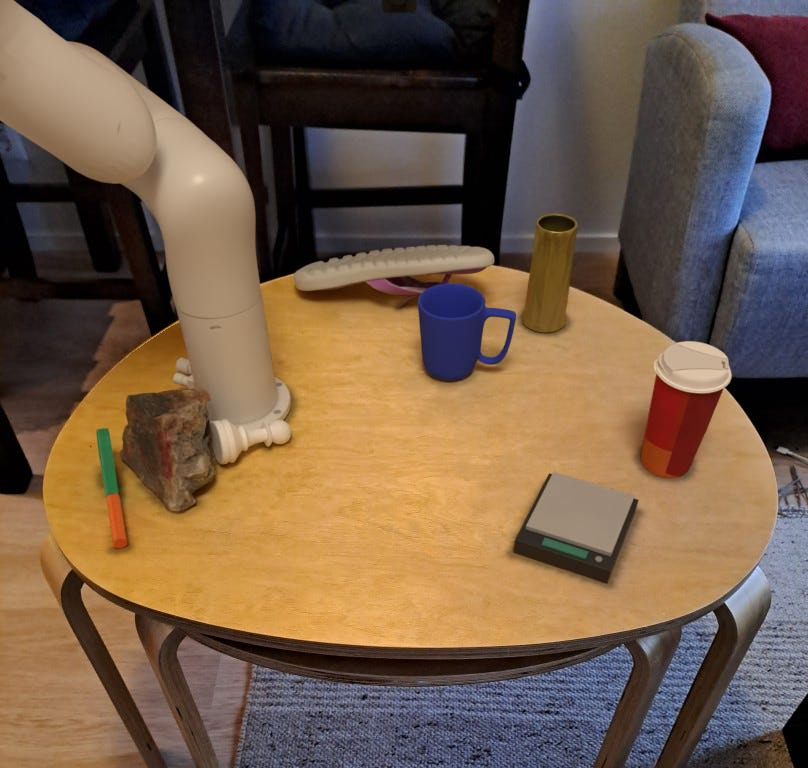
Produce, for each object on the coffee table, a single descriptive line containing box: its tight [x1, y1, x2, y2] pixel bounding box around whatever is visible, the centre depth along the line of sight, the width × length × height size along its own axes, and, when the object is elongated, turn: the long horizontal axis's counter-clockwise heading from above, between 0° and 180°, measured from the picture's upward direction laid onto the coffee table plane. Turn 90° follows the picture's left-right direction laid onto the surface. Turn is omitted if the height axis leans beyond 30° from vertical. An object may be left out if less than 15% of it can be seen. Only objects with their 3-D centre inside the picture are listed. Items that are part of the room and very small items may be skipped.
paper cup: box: [640, 340, 733, 479], centre depth 88 cm, size 8×8×14 cm
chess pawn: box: [209, 419, 292, 465], centre depth 94 cm, size 5×5×9 cm
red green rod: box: [95, 427, 128, 550], centre depth 88 cm, size 15×6×2 cm
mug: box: [417, 282, 517, 382], centre depth 102 cm, size 8×12×10 cm
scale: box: [513, 471, 640, 584], centre depth 85 cm, size 10×11×3 cm
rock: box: [118, 388, 216, 512], centre depth 89 cm, size 12×12×10 cm
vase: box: [521, 212, 578, 334], centre depth 108 cm, size 6×6×14 cm
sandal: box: [293, 244, 495, 308], centre depth 115 cm, size 13×29×7 cm, turn 85°
